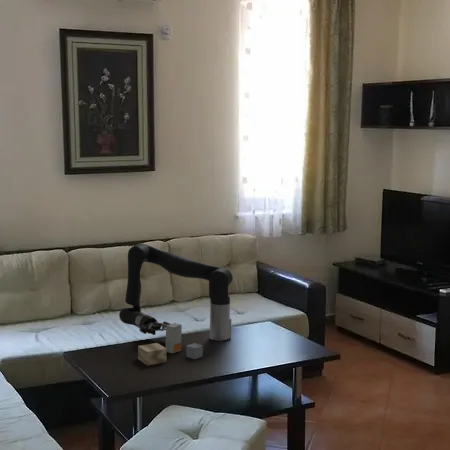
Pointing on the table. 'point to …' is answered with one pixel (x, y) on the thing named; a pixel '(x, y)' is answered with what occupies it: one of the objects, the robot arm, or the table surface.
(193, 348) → the slate block
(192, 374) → the table surface
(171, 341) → the skincare box
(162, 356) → the beech block
